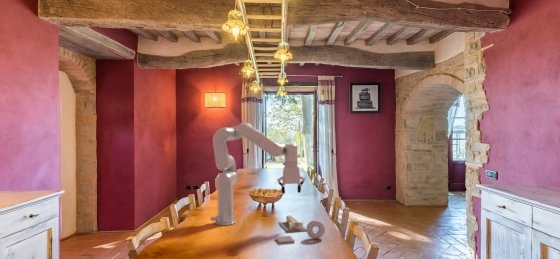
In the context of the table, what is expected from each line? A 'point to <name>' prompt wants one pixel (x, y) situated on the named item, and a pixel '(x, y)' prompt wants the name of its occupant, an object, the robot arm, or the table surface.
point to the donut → (320, 232)
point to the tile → (285, 240)
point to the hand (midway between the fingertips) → (291, 192)
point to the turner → (293, 223)
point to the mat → (286, 227)
